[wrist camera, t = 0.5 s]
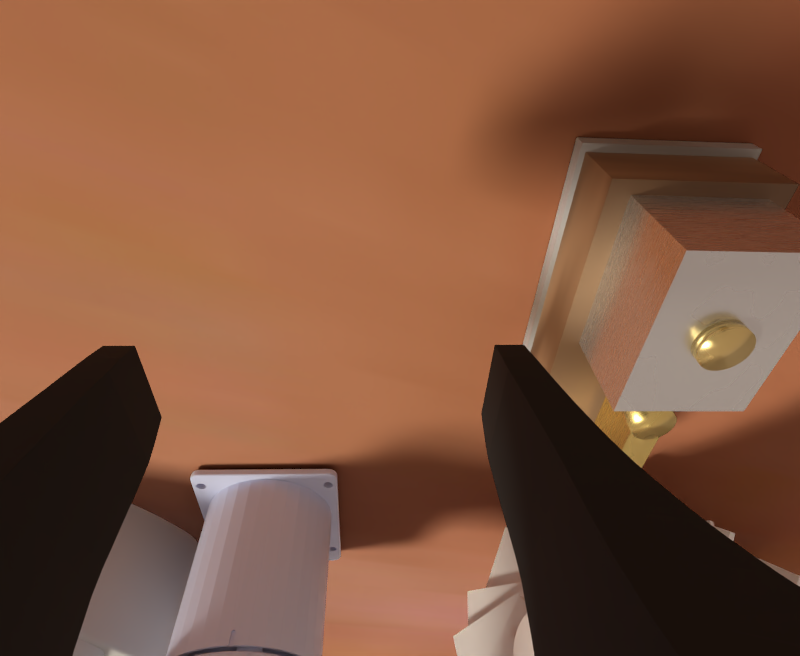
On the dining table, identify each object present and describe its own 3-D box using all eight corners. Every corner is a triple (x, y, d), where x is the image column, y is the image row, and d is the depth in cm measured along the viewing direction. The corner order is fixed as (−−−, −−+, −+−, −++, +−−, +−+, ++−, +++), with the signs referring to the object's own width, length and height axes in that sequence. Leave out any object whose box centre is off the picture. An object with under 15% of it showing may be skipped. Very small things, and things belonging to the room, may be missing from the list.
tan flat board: (614, 432, 27) (637, 479, 25) (499, 432, 27) (512, 480, 25) (752, 143, 18) (810, 174, 15) (576, 137, 17) (609, 168, 15)
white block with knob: (690, 344, 19) (751, 420, 16) (579, 343, 19) (618, 420, 16) (768, 198, 16) (863, 261, 13) (630, 194, 15) (694, 258, 12)
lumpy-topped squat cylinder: (129, 595, 36) (73, 746, 30) (-66, 524, 30) (-194, 697, 23) (221, 544, 33) (182, 704, 26) (23, 451, 26) (-100, 631, 19)
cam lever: (594, 487, 25) (613, 534, 23) (558, 487, 25) (574, 535, 23) (654, 362, 20) (686, 410, 18) (610, 362, 19) (636, 410, 17)
